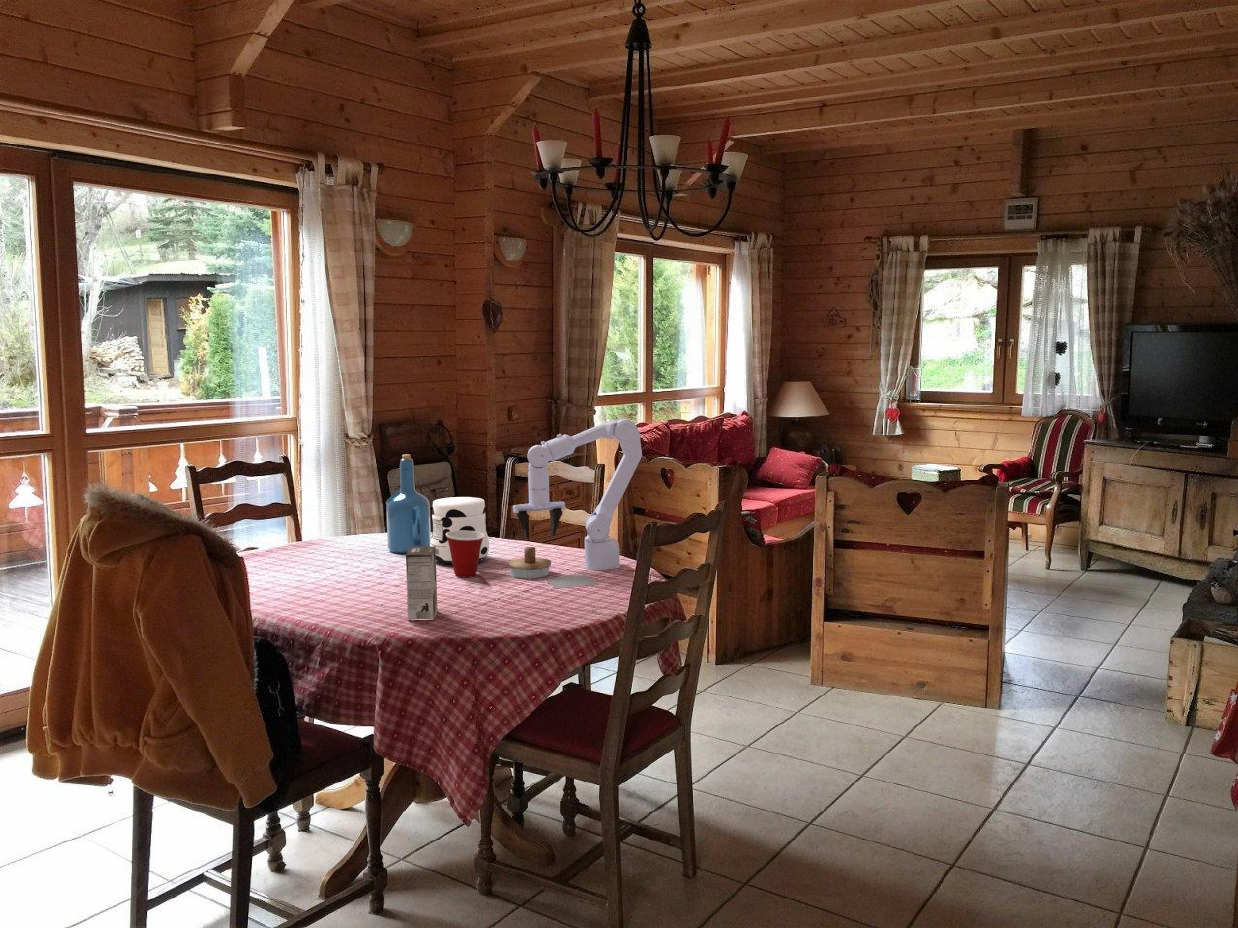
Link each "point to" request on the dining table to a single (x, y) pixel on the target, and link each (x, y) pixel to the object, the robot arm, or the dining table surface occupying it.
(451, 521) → the white black patterned jar
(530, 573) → the bowl
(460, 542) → the plastic cup
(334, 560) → the dining table surface
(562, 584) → the mat
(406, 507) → the wine bottle
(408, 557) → the coffee box
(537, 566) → the lid
